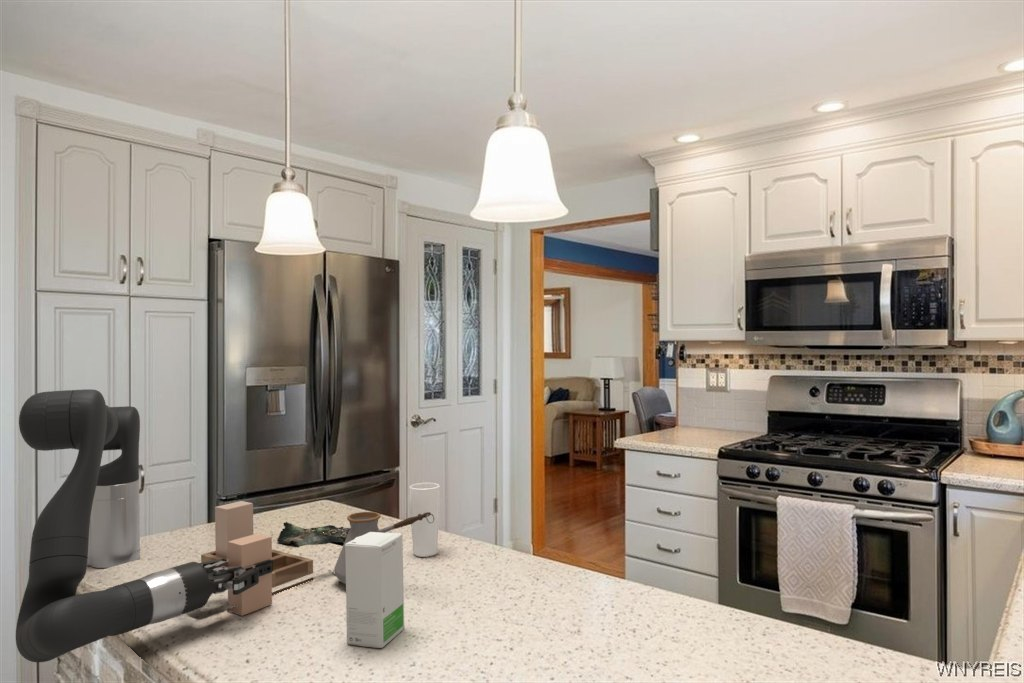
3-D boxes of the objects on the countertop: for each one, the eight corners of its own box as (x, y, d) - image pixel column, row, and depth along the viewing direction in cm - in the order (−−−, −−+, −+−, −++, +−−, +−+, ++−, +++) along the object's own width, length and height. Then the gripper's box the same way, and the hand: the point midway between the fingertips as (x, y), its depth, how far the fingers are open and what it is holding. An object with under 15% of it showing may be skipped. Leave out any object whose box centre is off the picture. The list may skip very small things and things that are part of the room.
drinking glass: (447, 552, 149) (446, 484, 149) (427, 561, 143) (426, 490, 143) (423, 547, 153) (422, 481, 152) (403, 555, 147) (402, 486, 147)
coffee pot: (321, 587, 128) (320, 508, 128) (359, 568, 139) (358, 495, 139) (416, 605, 119) (415, 520, 119) (449, 583, 130) (448, 505, 130)
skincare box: (381, 650, 102) (380, 547, 102) (343, 645, 104) (341, 544, 104) (406, 627, 110) (404, 532, 110) (369, 623, 112) (368, 529, 112)
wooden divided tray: (201, 574, 136) (200, 554, 136) (244, 560, 145) (244, 542, 145) (269, 596, 124) (269, 574, 124) (313, 580, 132) (313, 559, 132)
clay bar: (228, 610, 117) (227, 541, 117) (258, 599, 122) (257, 533, 122) (242, 615, 115) (241, 545, 115) (271, 604, 120) (271, 536, 120)
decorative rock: (321, 512, 170) (370, 514, 164) (322, 537, 170) (371, 539, 163) (265, 527, 153) (316, 529, 147) (265, 554, 152) (317, 557, 146)
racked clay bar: (215, 566, 137) (215, 507, 137) (242, 557, 142) (241, 500, 142) (227, 569, 135) (226, 509, 135) (253, 561, 140) (253, 503, 140)
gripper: (195, 577, 103) (289, 548, 117) (146, 561, 111) (239, 535, 125) (196, 627, 103) (289, 591, 117) (146, 606, 111) (239, 576, 125)
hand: (263, 563), depth 121 cm, fingers closed on clay bar, 4 cm apart
